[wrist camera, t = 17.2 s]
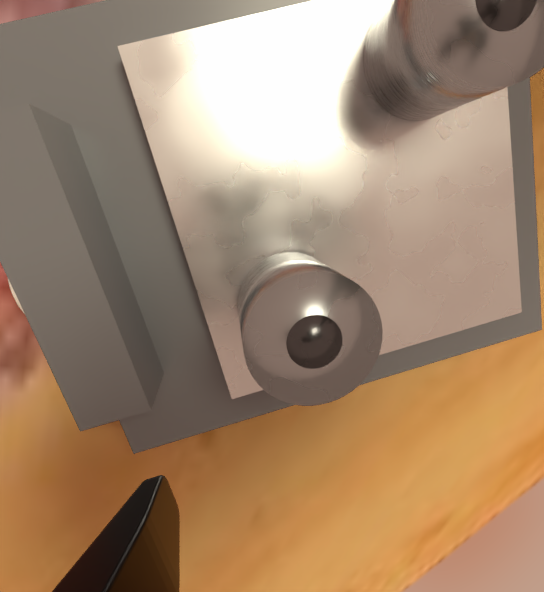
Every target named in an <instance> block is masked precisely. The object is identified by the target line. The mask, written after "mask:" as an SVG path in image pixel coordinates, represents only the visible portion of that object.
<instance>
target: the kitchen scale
mask: <svg viewBox="0 0 544 592" xmlns="http://www.w3.org/2000/svg"><path fill="white" fill-rule="evenodd" d="M387 1H388V0H105V1H101V2H97V3H92V4H88V5H83V6H79V7H74V8H70V9H65V10H61V11H56V12H52V13H48V14H43V15H39V16H34V17H30V18H25V19H21V20H16V21H12V22H7V23H3V24H0V262H1V264H2V266H3V269H4V271H5V273H6V275H7V277H8V282H9V286H10V289H11V292H12V295H13V297H14V299H15V301H16V303H17V304H18V306H19V308H20V309H21V310H22V312H23V313H24V314H25V315H26V317H27V319H28V322H29V324H30V326H31V328H32V330H33V332H34V334H35V336H36V339H37V341H38V343H39V345H40V347H41V349H42V351H43V353H44V356H45V358H46V360H47V362H48V364H49V366H50V368H51V370H52V373H53V375H54V377H55V379H56V381H57V383H58V385H59V387H60V390H61V392H62V394H63V396H64V398H65V400H66V402H67V404H68V407H69V409H70V411H71V413H72V415H73V417H74V419H75V421H76V424H77V426H78V428H79V430H80V431H84V430H87V429H90V428H94V427H97V426H100V425H104V424H107V423H110V422H114V421H117V420H119V421H120V423H121V425H122V428H123V430H124V432H125V435H126V437H127V439H128V442H129V444H130V446H131V449H132V451H133V453H134V454H135V453H138V452H141V451H145V450H148V449H151V448H154V447H158V446H161V445H164V444H168V443H171V442H174V441H177V440H181V439H184V438H187V437H191V436H194V435H197V434H200V433H204V432H207V431H210V430H214V429H217V428H220V427H223V426H227V425H230V424H233V423H237V422H240V421H243V420H246V419H250V418H253V417H256V416H260V415H263V414H266V413H269V412H273V411H276V410H279V409H283V408H286V407H289V406H292V405H294V404H290V403H286V402H283V401H281V400H278V399H277V398H275V397H273V396H271V395H270V394H268V393H267V392H266V391H264V390H263V389H262V388H261V387H260V386H259V385H258V384H257V382H256V381H255V380H254V378H253V377H252V375H251V373H250V372H249V369H248V367H247V364H246V361H245V357H244V352H243V345H242V338H241V331H240V323H239V316H238V308H237V301H238V294H239V290H240V287H241V284H242V282H243V280H244V279H245V277H246V276H247V274H248V273H249V272H250V270H251V269H252V268H253V267H254V266H255V265H257V264H258V263H259V262H261V261H262V260H264V259H266V258H268V257H269V256H272V255H275V254H279V253H284V252H298V253H303V254H306V255H309V256H312V257H314V258H316V259H317V260H319V261H321V262H322V263H324V264H326V265H327V266H329V267H331V268H332V269H334V270H336V271H337V272H339V273H341V274H342V275H344V276H346V277H347V278H349V279H351V280H352V281H354V282H355V283H357V284H358V285H360V286H361V287H362V288H363V289H364V290H365V291H366V292H367V293H368V294H369V296H370V297H371V298H372V300H373V301H374V303H375V305H376V307H377V309H378V311H379V314H380V318H381V322H382V330H383V333H382V345H381V349H380V353H379V356H378V359H377V361H376V363H375V365H374V367H373V369H372V370H371V372H370V373H369V375H368V376H367V377H366V378H365V380H364V381H363V382H362V383H361V384H365V383H368V382H371V381H375V380H378V379H381V378H384V377H388V376H391V375H394V374H398V373H401V372H404V371H407V370H411V369H414V368H417V367H421V366H424V365H427V364H430V363H434V362H437V361H440V360H444V359H447V358H450V357H453V356H457V355H460V354H463V353H467V352H470V351H473V350H477V349H480V348H483V347H486V346H490V345H493V344H496V343H500V342H503V341H506V340H509V339H513V338H516V337H519V336H523V335H526V334H529V333H532V332H536V331H539V330H542V321H541V300H540V280H539V259H538V238H537V218H536V197H535V177H534V156H533V135H532V115H531V94H530V77H529V78H527V79H525V80H523V81H521V82H519V83H516V84H514V85H511V86H509V87H506V88H504V89H501V90H499V91H497V92H494V93H492V94H489V95H487V96H484V97H482V98H479V99H477V100H474V101H472V102H470V103H467V104H465V105H462V106H460V107H457V108H455V109H452V110H450V111H447V112H445V113H443V114H440V115H438V116H435V117H433V118H430V119H427V120H421V121H408V120H403V119H400V118H397V117H395V116H393V115H391V114H390V113H388V112H387V111H386V110H384V109H383V108H382V107H381V106H380V105H379V104H378V102H377V101H376V100H375V98H374V97H373V95H372V94H371V91H370V89H369V87H368V85H367V82H366V78H365V74H364V67H363V50H364V43H365V39H366V35H367V33H368V30H369V27H370V25H371V23H372V21H373V19H374V18H375V16H376V15H377V13H378V12H379V11H380V9H381V8H382V7H383V6H384V4H385V3H386V2H387ZM361 384H360V385H361Z"/></svg>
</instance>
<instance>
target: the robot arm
mask: <svg viewBox="0 0 544 592" xmlns="http://www.w3.org/2000/svg"><path fill="white" fill-rule="evenodd" d="M52 592H179V509H178V505H177V503H176V500H175V498H174V495H173V493H172V490H171V488H170V485H169V483H168V481H167V479H166V478H165V476H163V475H160V476H157V477H153V478H150V479H147V480H145V481H143V483H142V484H141V485H140V486H139V487H138V488H137V490H136V491H135V492H134V493H133V494H132V496H131V497H130V498H129V499H128V500H127V502H126V503H125V504H124V505H123V507H122V508H121V509H120V510H119V511H118V513H117V514H116V515H115V516H114V517H113V519H112V520H111V521H110V522H109V523H108V525H107V526H106V527H105V528H104V529H103V531H102V532H101V533H100V534H99V535H98V537H97V538H96V539H95V540H94V542H93V543H92V544H91V545H90V546H89V548H88V549H87V550H86V551H85V552H84V554H83V555H82V556H81V557H80V558H79V560H78V561H77V562H76V563H75V564H74V566H73V567H72V568H71V569H70V571H69V572H68V573H67V574H66V575H65V577H64V578H63V579H62V580H61V581H60V583H59V584H58V585H57V586H56V587H55V589H54V590H53V591H52Z"/></svg>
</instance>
